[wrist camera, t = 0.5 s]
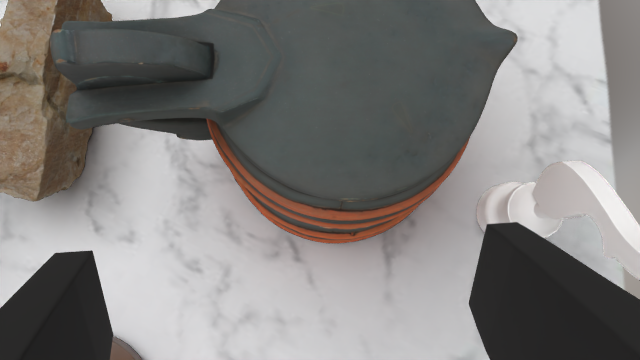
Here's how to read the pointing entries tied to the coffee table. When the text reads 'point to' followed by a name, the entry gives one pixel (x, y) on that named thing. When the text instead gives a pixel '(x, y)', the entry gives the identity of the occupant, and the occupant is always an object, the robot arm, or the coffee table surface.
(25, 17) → the stone
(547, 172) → the decorative finial
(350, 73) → the tankard
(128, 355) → the brown peg stand
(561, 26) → the coffee table surface
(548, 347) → the robot arm
